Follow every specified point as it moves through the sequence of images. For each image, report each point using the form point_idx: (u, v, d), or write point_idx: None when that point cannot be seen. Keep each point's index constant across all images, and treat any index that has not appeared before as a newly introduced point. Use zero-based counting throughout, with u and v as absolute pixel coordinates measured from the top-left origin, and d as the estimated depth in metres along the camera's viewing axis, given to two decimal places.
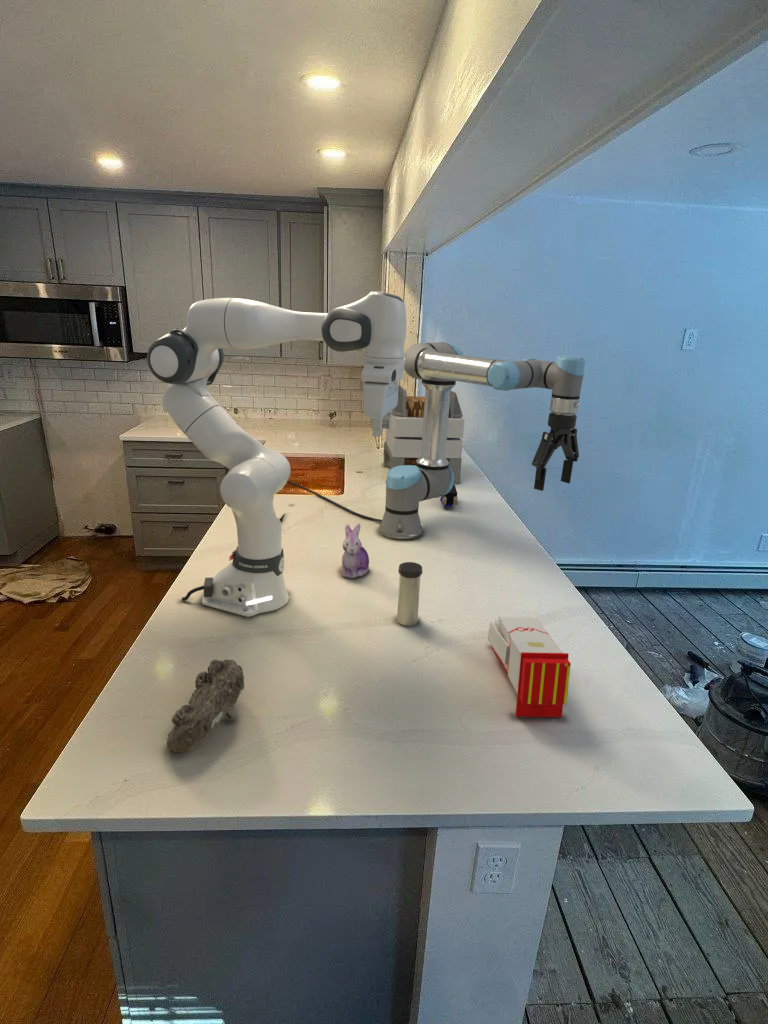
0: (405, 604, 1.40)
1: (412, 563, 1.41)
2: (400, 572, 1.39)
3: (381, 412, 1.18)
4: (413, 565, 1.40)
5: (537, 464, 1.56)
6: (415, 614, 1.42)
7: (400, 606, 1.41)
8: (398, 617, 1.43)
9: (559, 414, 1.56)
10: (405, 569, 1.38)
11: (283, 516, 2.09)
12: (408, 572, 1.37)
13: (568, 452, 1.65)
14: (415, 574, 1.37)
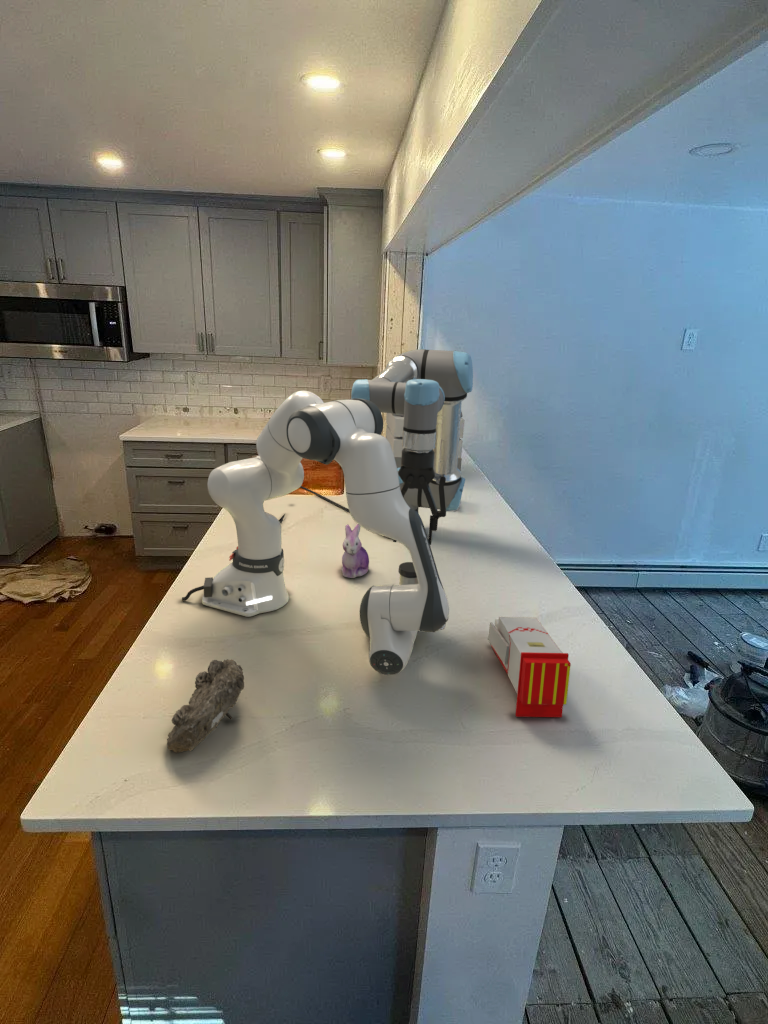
0: None
1: (412, 563, 1.41)
2: (400, 572, 1.39)
3: None
4: (413, 565, 1.40)
5: None
6: None
7: None
8: None
9: None
10: (405, 569, 1.38)
11: (283, 516, 2.09)
12: (408, 572, 1.37)
13: None
14: (415, 574, 1.37)
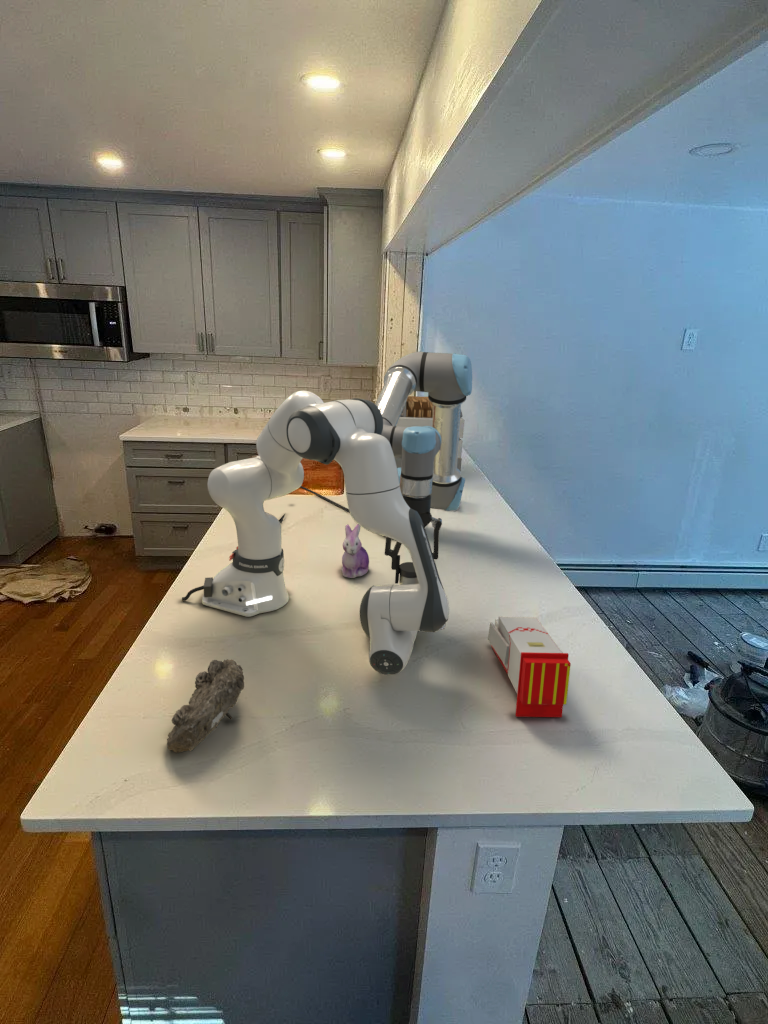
0: None
1: (412, 563, 1.41)
2: (400, 572, 1.39)
3: None
4: (413, 565, 1.40)
5: None
6: None
7: None
8: None
9: None
10: (405, 569, 1.38)
11: (283, 516, 2.09)
12: (408, 572, 1.37)
13: None
14: (415, 574, 1.37)
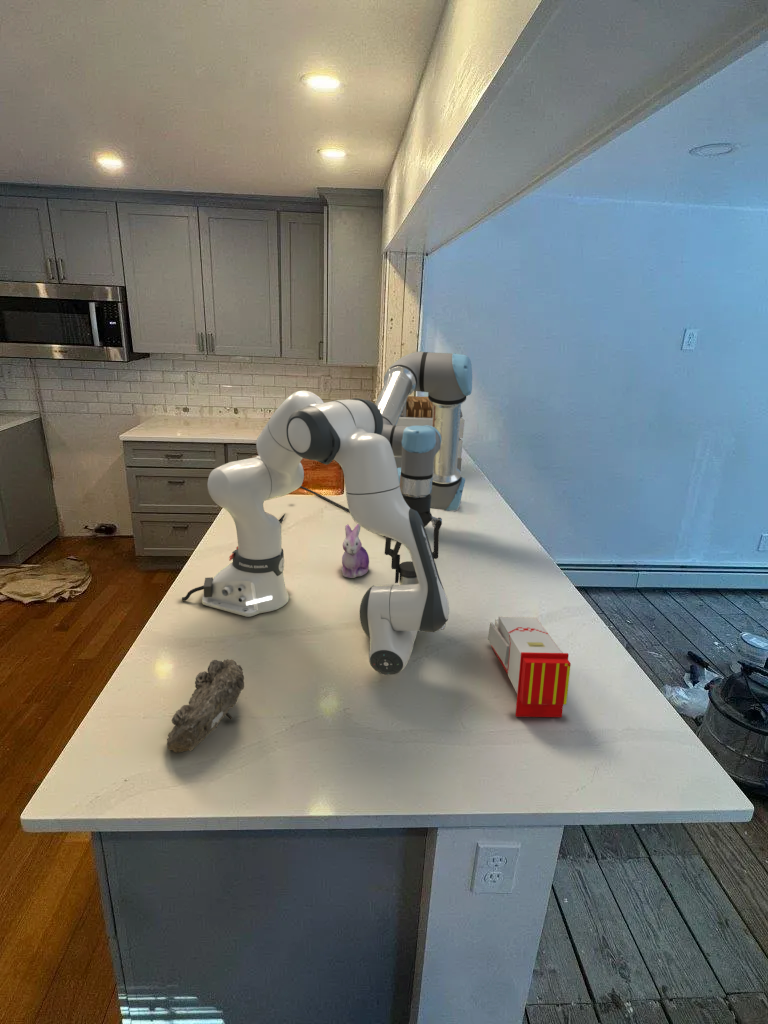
0: None
1: (403, 567, 1.39)
2: None
3: None
4: (406, 566, 1.39)
5: None
6: None
7: None
8: None
9: None
10: None
11: (283, 516, 2.09)
12: None
13: None
14: None
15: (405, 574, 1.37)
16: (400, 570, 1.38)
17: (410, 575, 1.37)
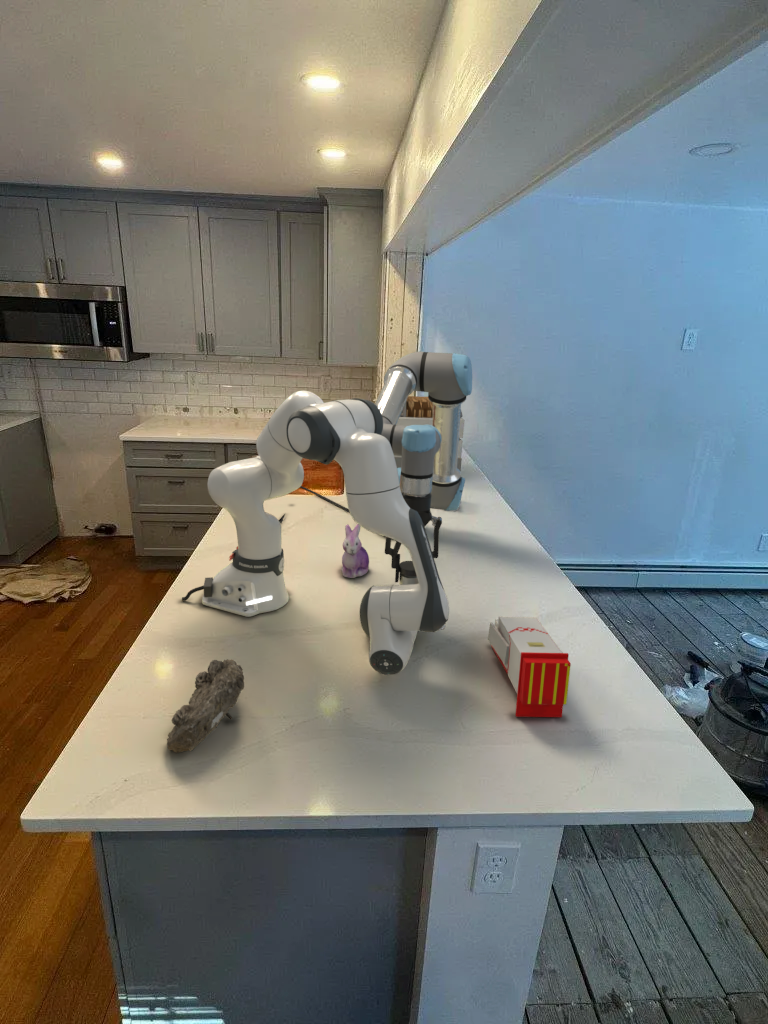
0: None
1: None
2: None
3: None
4: None
5: None
6: None
7: None
8: None
9: None
10: (404, 562, 1.41)
11: (283, 516, 2.09)
12: (400, 564, 1.40)
13: None
14: (399, 569, 1.39)
15: None
16: None
17: None
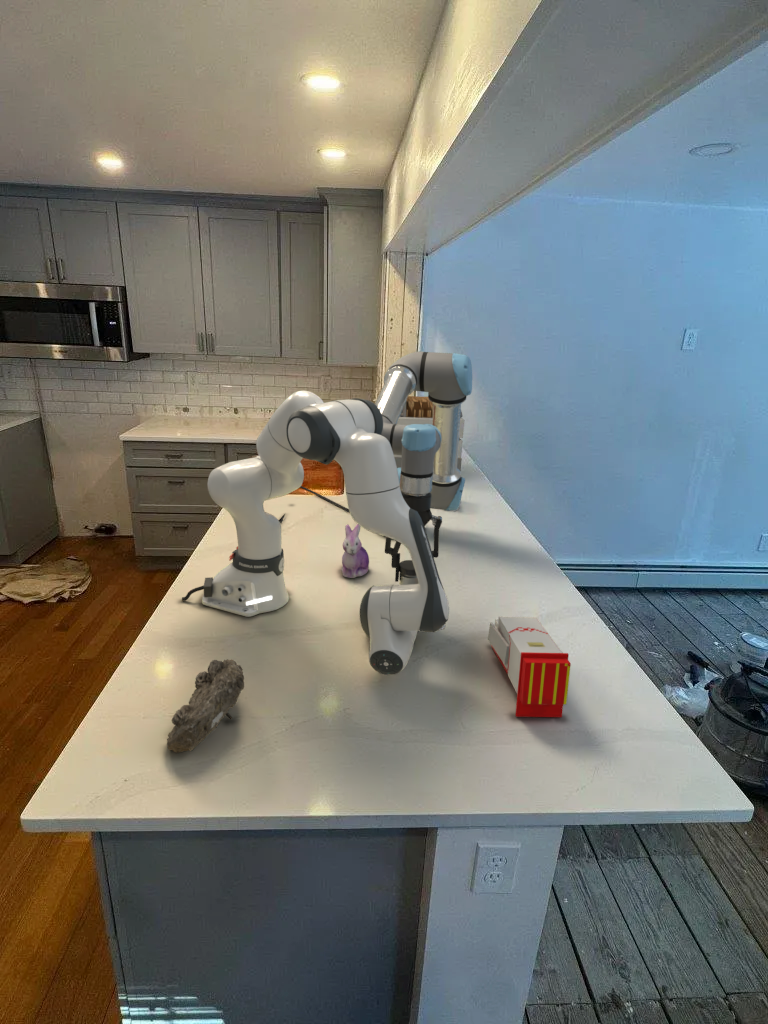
0: None
1: (407, 561, 1.41)
2: (405, 572, 1.37)
3: None
4: (411, 562, 1.40)
5: None
6: None
7: None
8: None
9: None
10: (410, 568, 1.37)
11: (283, 516, 2.09)
12: None
13: None
14: None
15: None
16: None
17: None
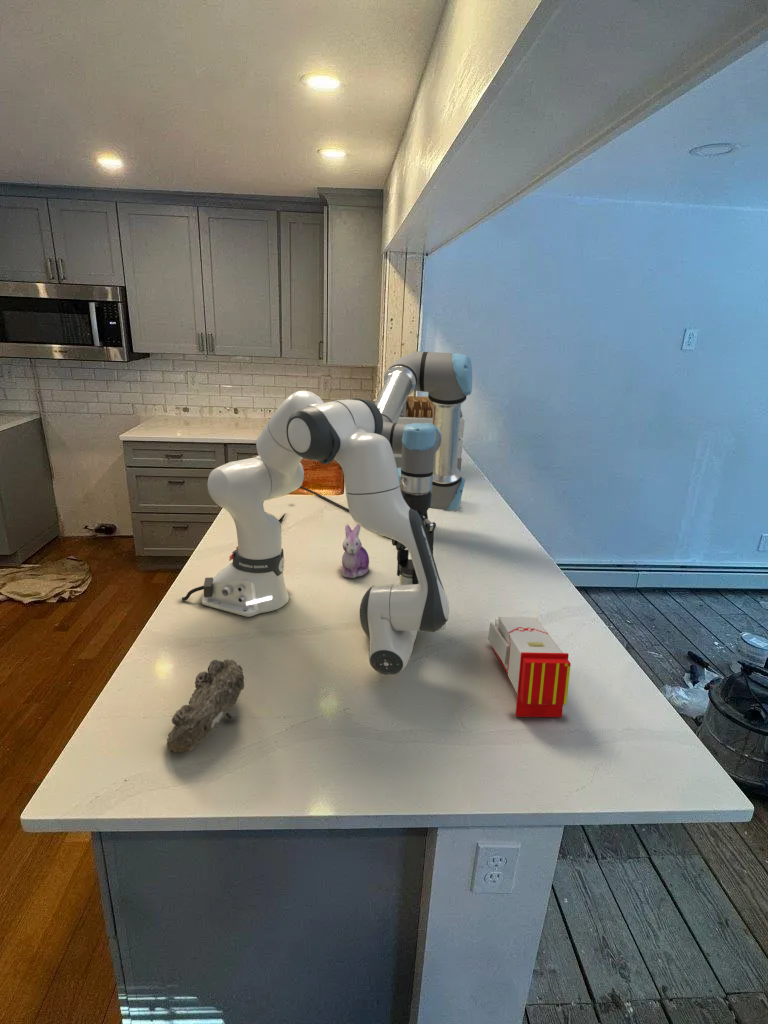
0: None
1: (406, 567, 1.38)
2: None
3: None
4: (407, 565, 1.39)
5: None
6: None
7: None
8: None
9: None
10: None
11: (283, 516, 2.09)
12: None
13: None
14: None
15: (412, 573, 1.37)
16: (405, 570, 1.37)
17: None
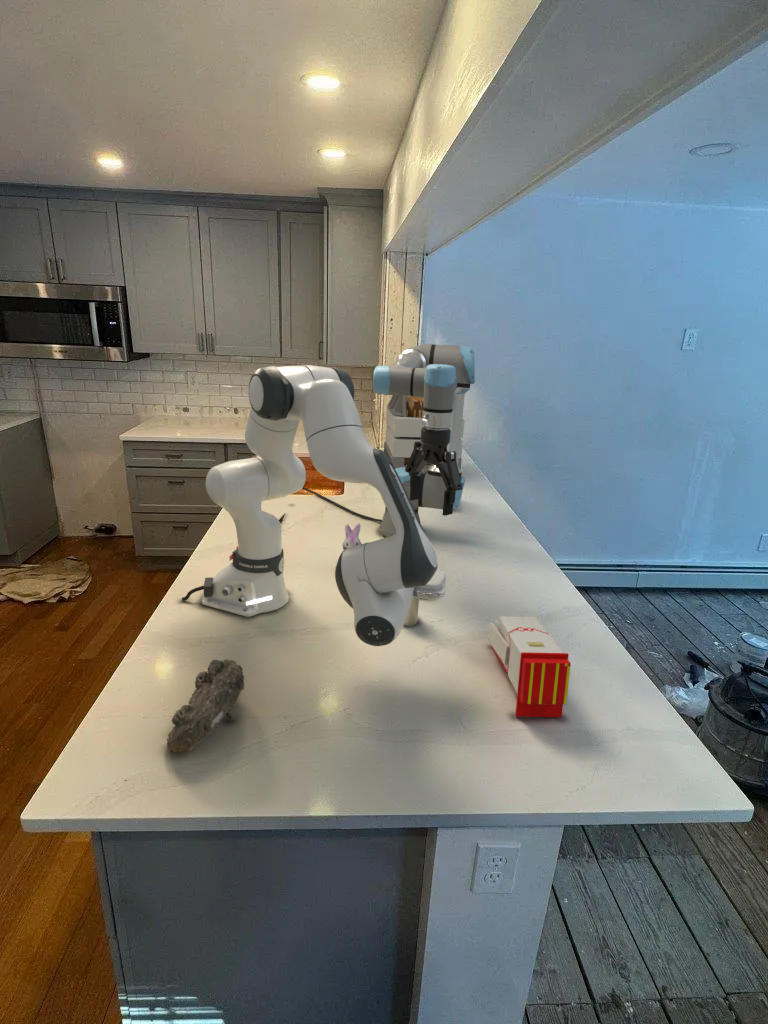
0: None
1: None
2: None
3: None
4: None
5: None
6: (415, 614, 1.42)
7: None
8: None
9: None
10: None
11: (283, 516, 2.09)
12: None
13: None
14: None
15: None
16: None
17: None
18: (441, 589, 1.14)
